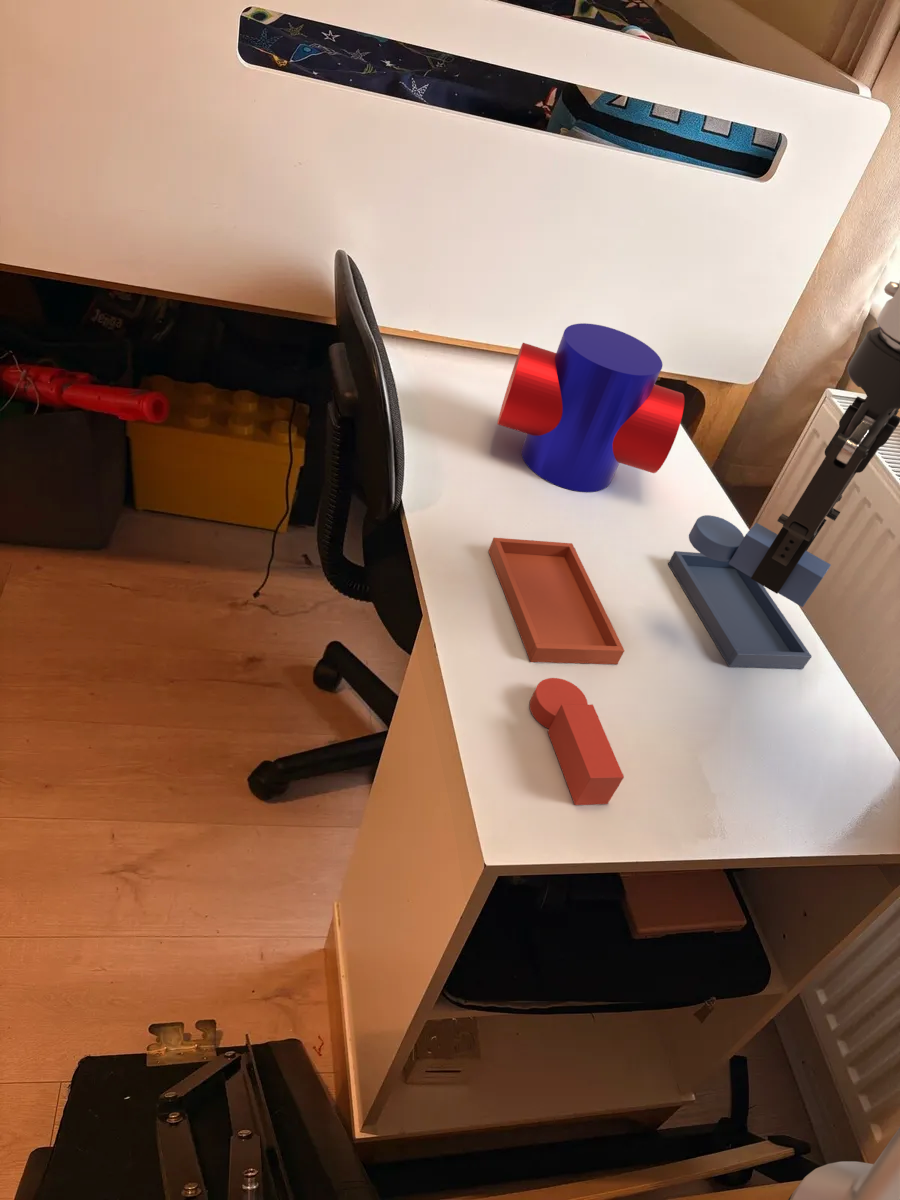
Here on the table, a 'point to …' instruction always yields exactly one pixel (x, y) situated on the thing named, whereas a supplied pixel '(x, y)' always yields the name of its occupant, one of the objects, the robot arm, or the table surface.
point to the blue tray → (738, 614)
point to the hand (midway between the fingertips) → (771, 575)
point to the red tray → (554, 603)
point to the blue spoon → (755, 554)
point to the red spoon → (577, 741)
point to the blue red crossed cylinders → (591, 407)
